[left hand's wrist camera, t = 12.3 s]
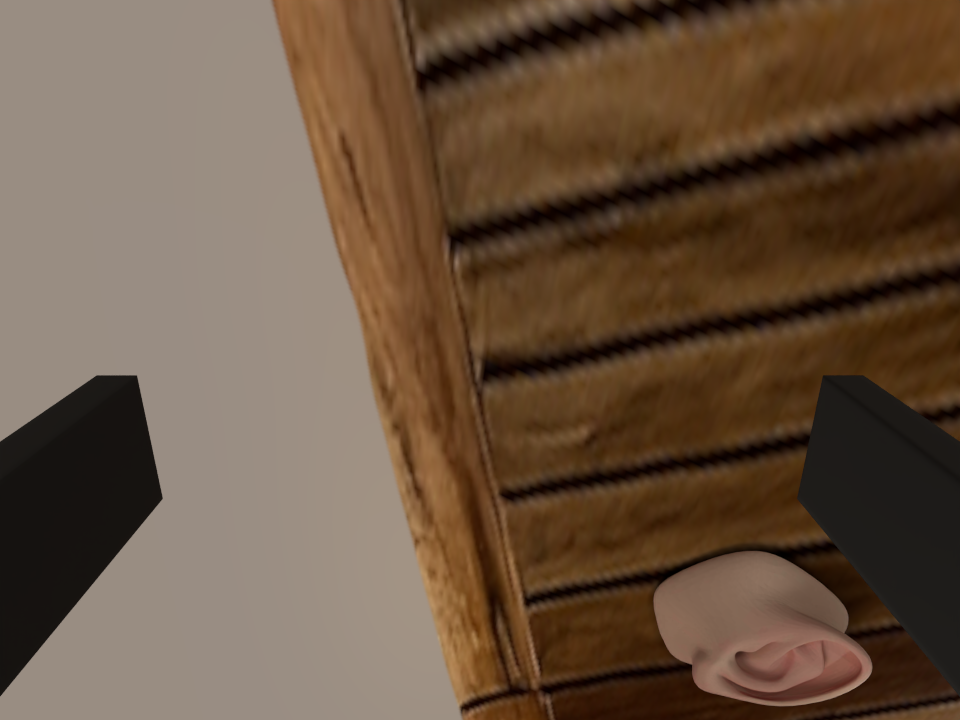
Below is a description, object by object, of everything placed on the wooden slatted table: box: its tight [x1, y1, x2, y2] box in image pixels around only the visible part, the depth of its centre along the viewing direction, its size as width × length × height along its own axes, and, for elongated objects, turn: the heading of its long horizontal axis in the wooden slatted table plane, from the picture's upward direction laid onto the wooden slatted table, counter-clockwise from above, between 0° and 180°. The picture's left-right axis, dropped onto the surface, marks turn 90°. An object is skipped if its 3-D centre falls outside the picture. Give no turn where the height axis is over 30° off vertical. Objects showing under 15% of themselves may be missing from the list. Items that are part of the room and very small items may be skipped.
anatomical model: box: [654, 551, 872, 706], centre depth 43 cm, size 13×4×12 cm
